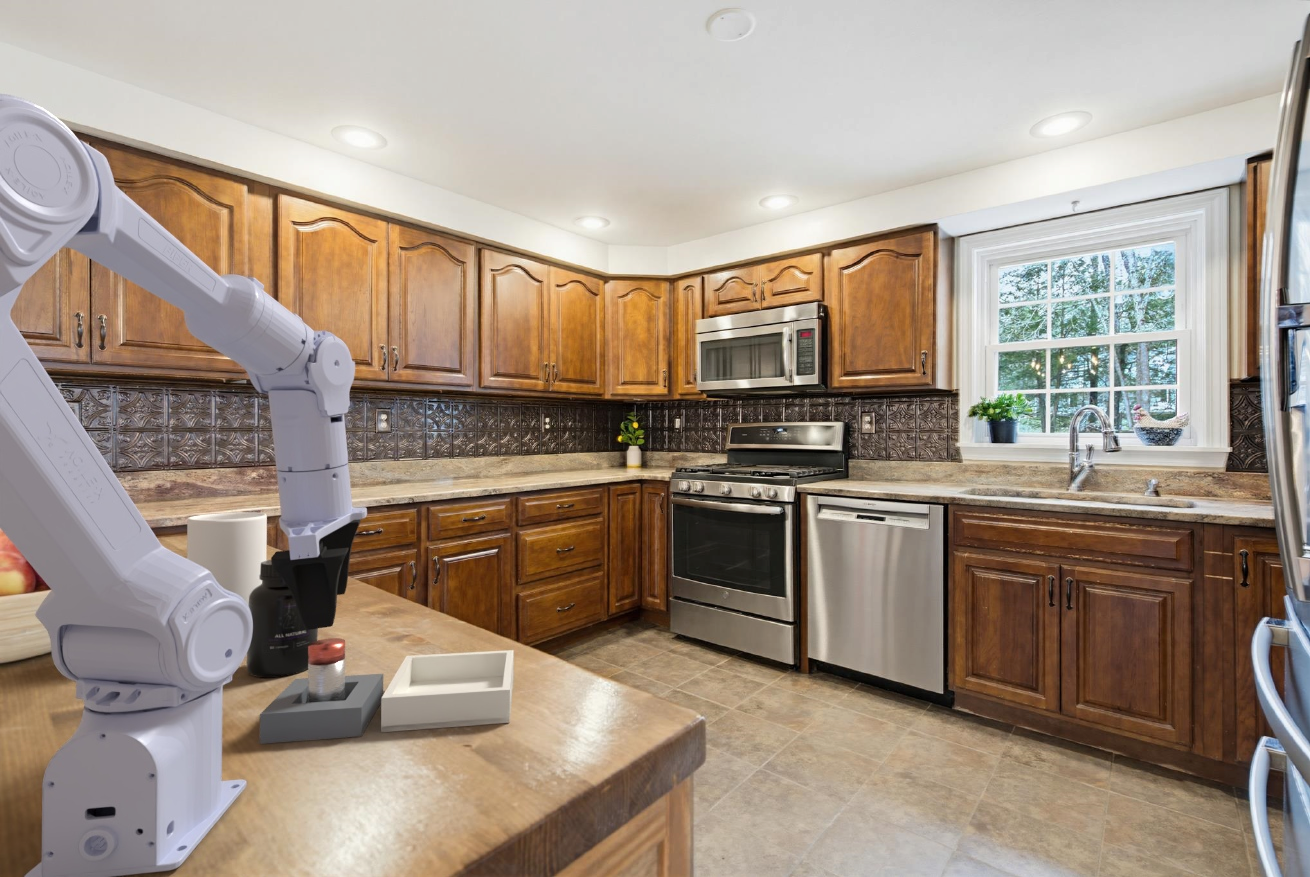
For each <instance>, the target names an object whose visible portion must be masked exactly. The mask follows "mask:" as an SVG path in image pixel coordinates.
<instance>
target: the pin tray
mask: <svg viewBox="0 0 1310 877" xmlns="http://www.w3.org/2000/svg"><path fill="white" fill-rule="evenodd" d="M514 653H515V650H514V649H511V650H510V649H509V650H493V651H492V650H491V651H490V650H488V651H474V652H473V651H471V652H454V653H435V654H416V655H415V654H413V655H406V656H405V658H404V660H403V661H402V663H401V664H400V666H399V667H398V670H397V671H396V672H395V675H394V676H393V678H392V680H391V681H390V683H389V685H388V686H387V688H386V690H385V691H384V692H383V696H382V698H381V703H380V707H381V709H380V711H381V713H380V714H381V717H380V718H381V719H380V720H381V721H380V722H381V723H380V724H381V725H380V732H381V733H387V732H388V733H389V732H401V731H403V732H405V731H414V730H415V731H416V730H429V729H430V730H431V729H440V728H441V729H443V728H455V727H456V728H457V727H468V726H481V725H482V726H483V725H496V724H508V723H510V722H511V721H510V720H511V711H512V699H513V698H512V697H513V687H514V678H515V677H514V669H515V668H514V667H515V665H514V661H515V660H514V659H515V658H514V657H515V654H514Z"/></svg>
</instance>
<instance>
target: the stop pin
mask: <svg viewBox="0 0 1310 877" xmlns="http://www.w3.org/2000/svg"><path fill="white" fill-rule="evenodd" d="M307 670H308V671H307V678H308V703H312V702H328V701H343V700H345V676H346V639H344V638H343V639H342V638H338V637H337V638H336V637H333V638H332V637H331V638H324V639H317V641H315V642H312V643H310V644H309V645H308V669H307Z"/></svg>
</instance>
